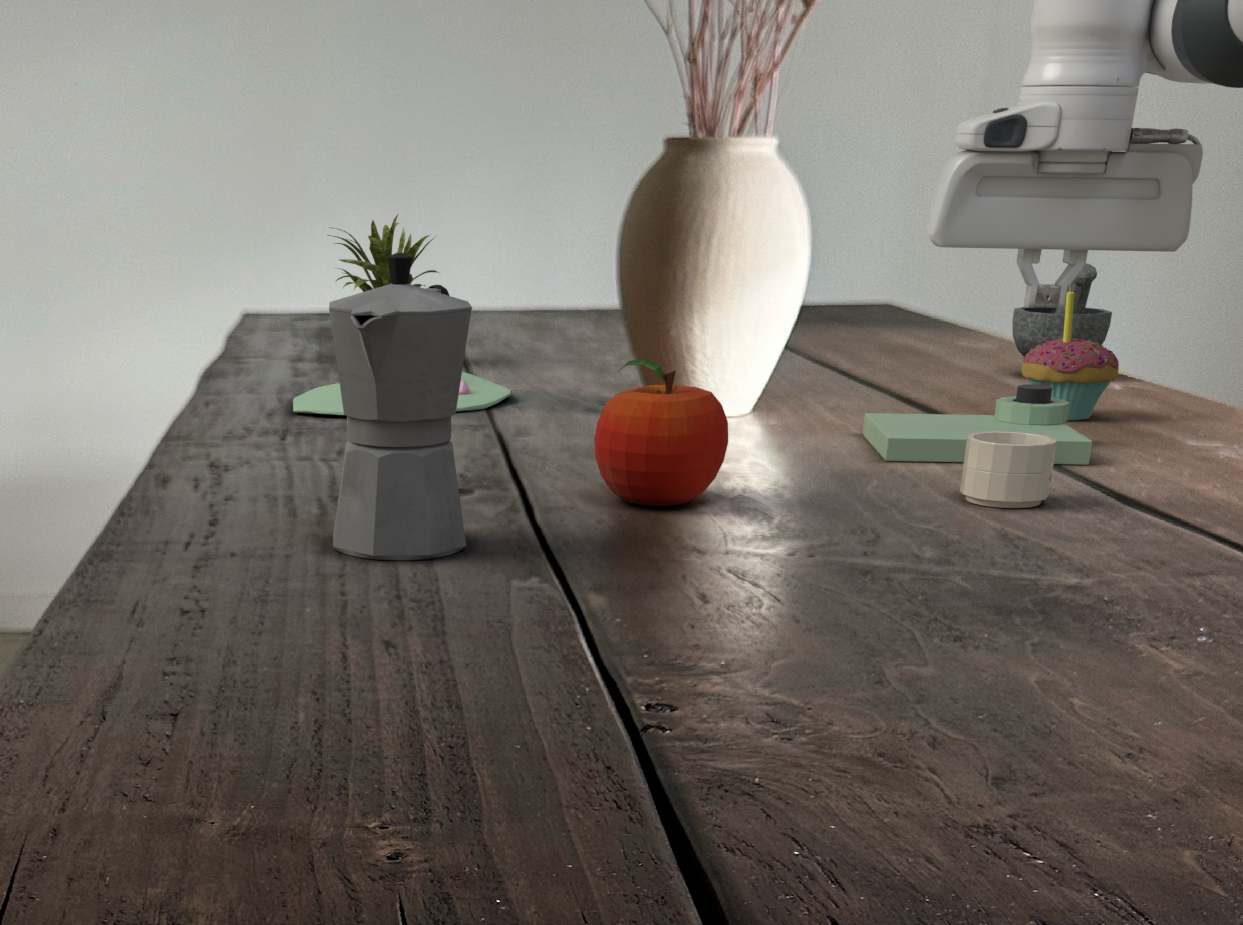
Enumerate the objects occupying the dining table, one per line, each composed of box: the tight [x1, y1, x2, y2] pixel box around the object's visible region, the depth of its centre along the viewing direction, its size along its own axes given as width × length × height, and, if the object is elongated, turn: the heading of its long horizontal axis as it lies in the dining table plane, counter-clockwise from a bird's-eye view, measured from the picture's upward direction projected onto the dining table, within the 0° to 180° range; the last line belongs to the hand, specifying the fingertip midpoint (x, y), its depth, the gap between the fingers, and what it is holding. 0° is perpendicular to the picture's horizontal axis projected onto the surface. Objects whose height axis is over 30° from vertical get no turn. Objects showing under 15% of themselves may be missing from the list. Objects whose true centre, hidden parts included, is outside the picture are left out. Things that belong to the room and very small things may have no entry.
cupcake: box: [1021, 283, 1120, 421], centre depth 157 cm, size 9×8×12 cm
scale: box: [862, 395, 1093, 466], centre depth 143 cm, size 16×13×4 cm
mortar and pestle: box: [1011, 262, 1113, 376], centre depth 182 cm, size 11×9×12 cm
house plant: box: [327, 214, 442, 292], centre depth 193 cm, size 14×14×16 cm
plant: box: [292, 371, 513, 416], centre depth 168 cm, size 25×21×9 cm
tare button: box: [1015, 383, 1052, 404], centre depth 145 cm, size 3×3×2 cm
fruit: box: [593, 358, 729, 507], centre depth 122 cm, size 10×10×10 cm
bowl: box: [959, 431, 1057, 509], centre depth 123 cm, size 6×6×4 cm
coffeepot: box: [328, 252, 473, 561], centre depth 109 cm, size 15×9×18 cm, turn 159°
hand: (1043, 307), depth 143 cm, fingers closed
